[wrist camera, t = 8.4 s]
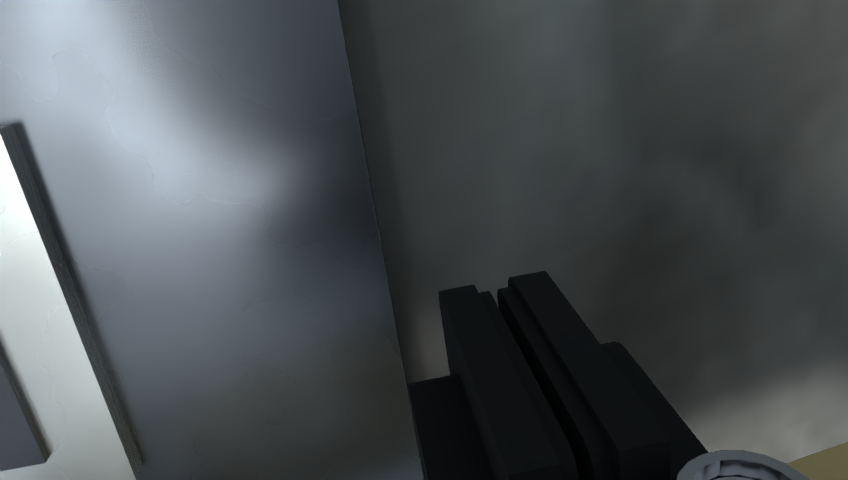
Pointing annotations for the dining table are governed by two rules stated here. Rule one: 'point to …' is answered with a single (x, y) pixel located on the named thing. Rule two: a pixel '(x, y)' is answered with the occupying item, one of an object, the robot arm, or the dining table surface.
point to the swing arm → (824, 464)
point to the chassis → (191, 249)
